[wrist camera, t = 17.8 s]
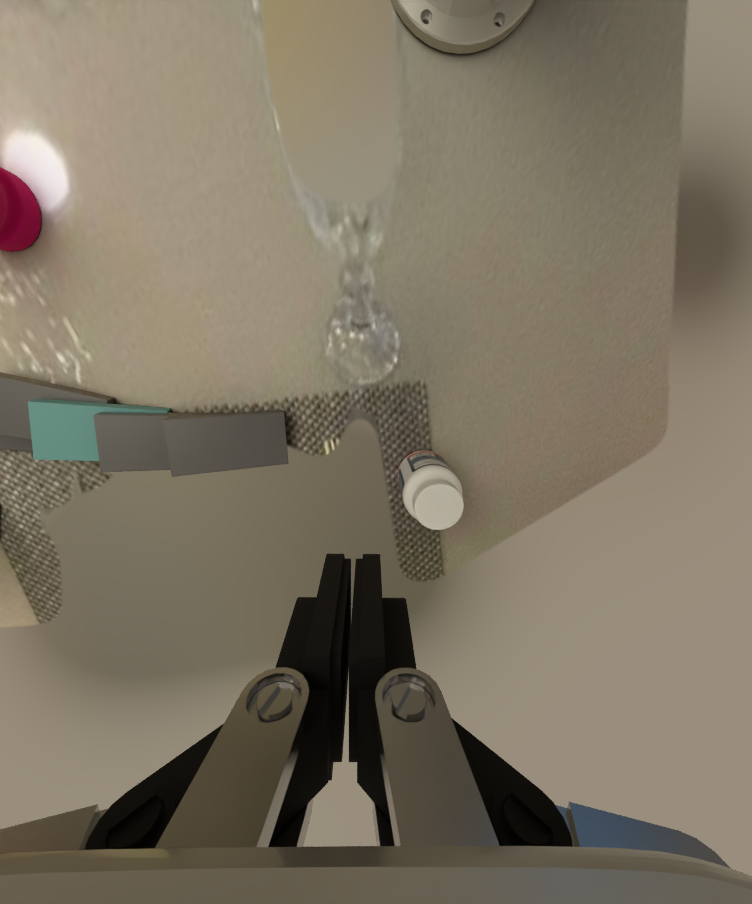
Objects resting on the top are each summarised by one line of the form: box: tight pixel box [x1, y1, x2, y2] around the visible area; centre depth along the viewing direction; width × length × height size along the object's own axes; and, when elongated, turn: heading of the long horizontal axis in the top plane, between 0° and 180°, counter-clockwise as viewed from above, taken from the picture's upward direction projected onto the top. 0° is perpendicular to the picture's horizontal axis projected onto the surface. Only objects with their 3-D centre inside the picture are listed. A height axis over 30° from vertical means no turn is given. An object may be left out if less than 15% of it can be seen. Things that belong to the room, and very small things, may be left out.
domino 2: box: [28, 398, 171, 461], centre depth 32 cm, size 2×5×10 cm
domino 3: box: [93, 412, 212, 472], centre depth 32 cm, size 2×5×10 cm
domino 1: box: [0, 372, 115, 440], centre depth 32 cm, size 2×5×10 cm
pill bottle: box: [397, 450, 464, 530], centre depth 32 cm, size 5×5×9 cm
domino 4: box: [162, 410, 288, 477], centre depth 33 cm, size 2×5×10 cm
